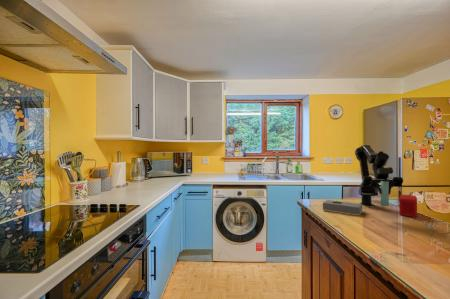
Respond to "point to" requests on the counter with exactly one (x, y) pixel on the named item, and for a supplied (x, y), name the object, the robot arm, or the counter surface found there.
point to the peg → (385, 193)
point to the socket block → (343, 207)
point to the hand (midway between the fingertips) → (385, 193)
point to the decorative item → (408, 205)
